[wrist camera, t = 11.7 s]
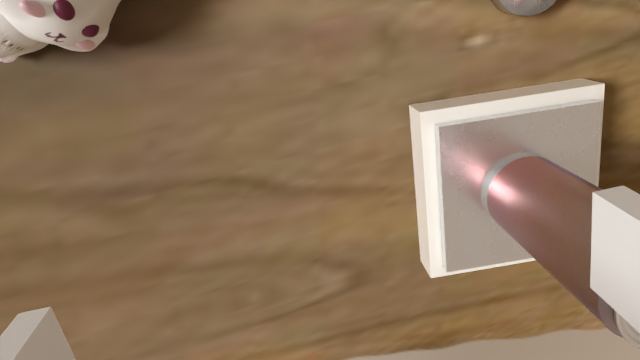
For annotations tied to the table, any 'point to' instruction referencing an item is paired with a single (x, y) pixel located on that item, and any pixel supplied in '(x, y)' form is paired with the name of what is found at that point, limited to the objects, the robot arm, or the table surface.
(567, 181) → the beverage can
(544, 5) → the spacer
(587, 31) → the table surface
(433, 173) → the base
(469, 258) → the pan
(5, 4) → the cat figurine
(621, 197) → the robot arm
